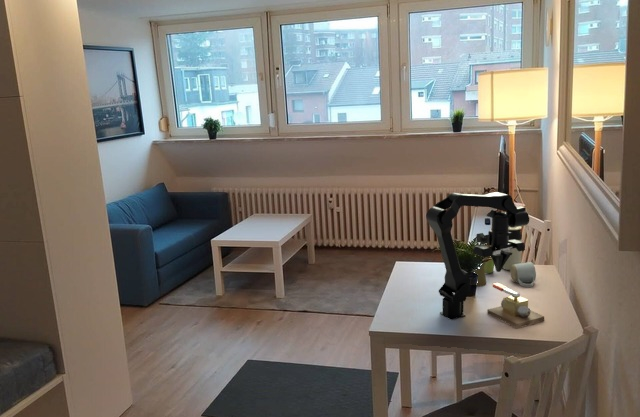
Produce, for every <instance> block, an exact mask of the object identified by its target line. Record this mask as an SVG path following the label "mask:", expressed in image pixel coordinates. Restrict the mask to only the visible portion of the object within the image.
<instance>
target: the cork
mask: <svg viewBox="0 0 640 417" xmlns="http://www.w3.org/2000/svg"><path fill="white" fill-rule="evenodd" d="M485 263H486V262H485ZM485 263H483V264H482V265H481V268H480V269H478V270H475V271H474V272H475V273H476V274H478V283H477V286H476V287H484V286H487V276H486V273H485V268H484V265H485Z"/></svg>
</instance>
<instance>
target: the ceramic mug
mask: <svg viewBox="0 0 640 417" xmlns="http://www.w3.org/2000/svg"><path fill="white" fill-rule="evenodd" d="M509 272H510V273H509V275H510V278H511V281H513V282H514V283H519V285H520V286H522V287H525V288H529V287H530V288H531V287H533V286H534V284H535V282H536V279H537V272H536V268H535V264H534V263H533V262H532V261H528V262H521V263H520V264H514V265H512V266H511V268H510V270H509Z"/></svg>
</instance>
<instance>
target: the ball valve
mask: <svg viewBox="0 0 640 417" xmlns="http://www.w3.org/2000/svg"><path fill="white" fill-rule="evenodd" d="M500 306H502V308H503V312H505V313H507V314H509V315H511V316H513V317H519V316H521V317H523V318H527V317H529V315H530V310H531V309H530V308H529V300H528V299H527V298H525V297H522V296H520V297H519V298H515V297H512V295H509V296H506V297H503V299H502V301H501V303H500Z"/></svg>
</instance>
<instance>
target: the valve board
mask: <svg viewBox="0 0 640 417" xmlns="http://www.w3.org/2000/svg"><path fill="white" fill-rule="evenodd" d="M486 313H487V315H489V316H491V317H493V318H495V319H497V320H499V321H501V322H503V323H505V324H507V325H509V326H511V327H512V328H515V329H520V328H522V327H525V326H529V325H534V324H537V323H541V322H543V321H545V316H544V315H542V314H540V313H538V312H536V311H533V310H532V309H530V315H529V317H527V318H523V317H521V316H519V317H513V316H511V315H509V314H507V313H505V312H503V308H502V306H501V305H500V306H496V307H492V308H488V309H487V312H486Z"/></svg>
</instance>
